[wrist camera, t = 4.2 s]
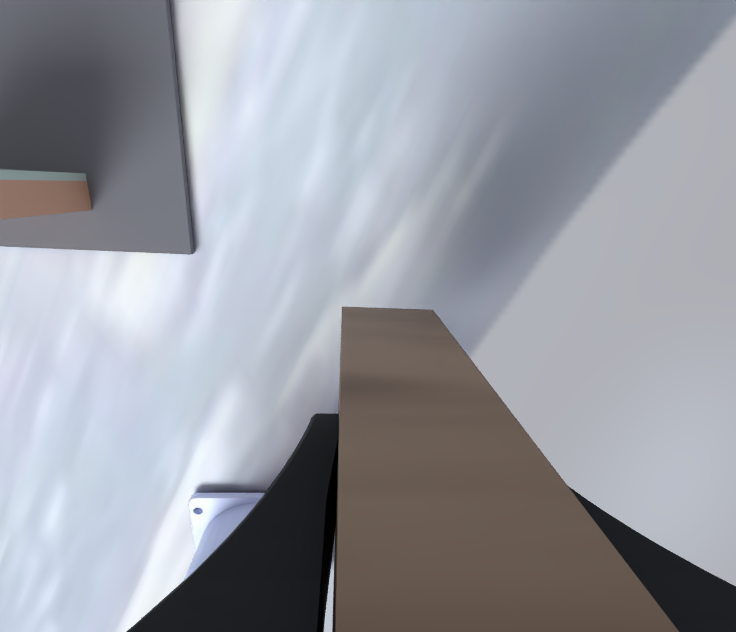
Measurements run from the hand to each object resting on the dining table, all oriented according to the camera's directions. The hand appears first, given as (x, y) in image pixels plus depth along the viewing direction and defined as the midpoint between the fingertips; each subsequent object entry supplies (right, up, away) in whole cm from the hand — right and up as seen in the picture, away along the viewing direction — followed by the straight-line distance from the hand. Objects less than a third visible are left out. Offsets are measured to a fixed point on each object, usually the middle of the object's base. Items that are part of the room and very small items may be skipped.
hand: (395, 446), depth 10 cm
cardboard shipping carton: (0, +1, +3) cm, 4 cm away
